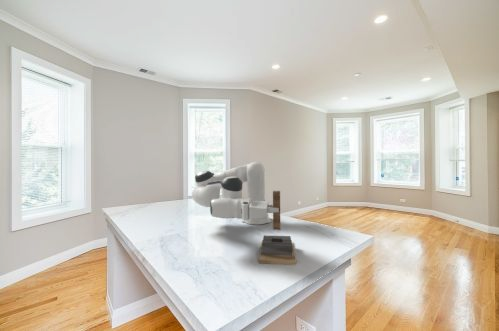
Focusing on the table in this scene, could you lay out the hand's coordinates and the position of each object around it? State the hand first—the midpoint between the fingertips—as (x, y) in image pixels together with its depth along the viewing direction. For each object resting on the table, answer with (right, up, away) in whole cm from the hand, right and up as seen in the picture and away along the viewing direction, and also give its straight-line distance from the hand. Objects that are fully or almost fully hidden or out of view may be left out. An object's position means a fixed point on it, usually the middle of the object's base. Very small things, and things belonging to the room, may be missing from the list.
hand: (278, 208), depth 98 cm
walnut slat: (-1, -9, 0) cm, 9 cm away
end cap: (-1, -19, +1) cm, 19 cm away
